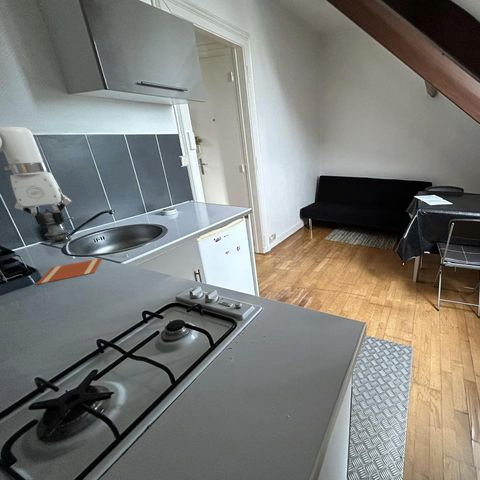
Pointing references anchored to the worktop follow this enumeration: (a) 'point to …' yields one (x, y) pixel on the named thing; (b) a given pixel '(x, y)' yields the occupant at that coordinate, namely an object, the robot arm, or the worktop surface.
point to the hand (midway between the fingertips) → (52, 224)
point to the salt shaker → (54, 229)
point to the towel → (70, 271)
